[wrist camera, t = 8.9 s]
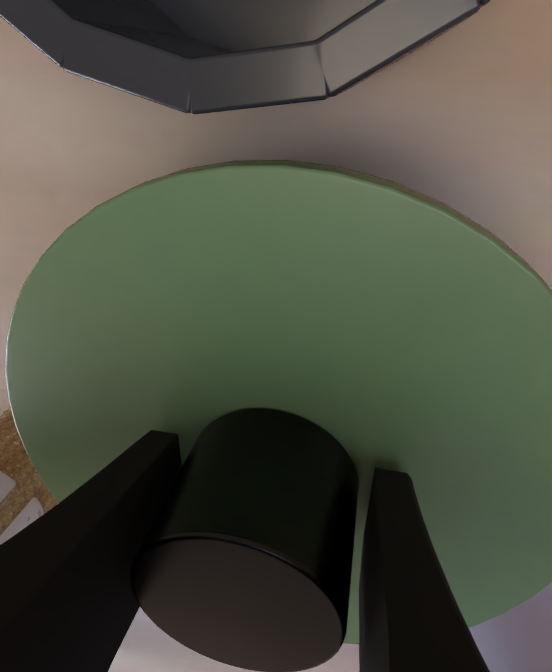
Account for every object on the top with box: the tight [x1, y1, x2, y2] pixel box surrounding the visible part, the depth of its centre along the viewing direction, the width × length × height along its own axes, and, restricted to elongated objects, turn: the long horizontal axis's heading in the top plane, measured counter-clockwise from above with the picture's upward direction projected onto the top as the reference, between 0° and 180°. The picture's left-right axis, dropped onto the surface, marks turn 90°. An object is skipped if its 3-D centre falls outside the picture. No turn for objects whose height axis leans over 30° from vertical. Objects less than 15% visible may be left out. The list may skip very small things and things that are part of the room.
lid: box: [5, 160, 552, 672], centre depth 9 cm, size 13×13×4 cm
